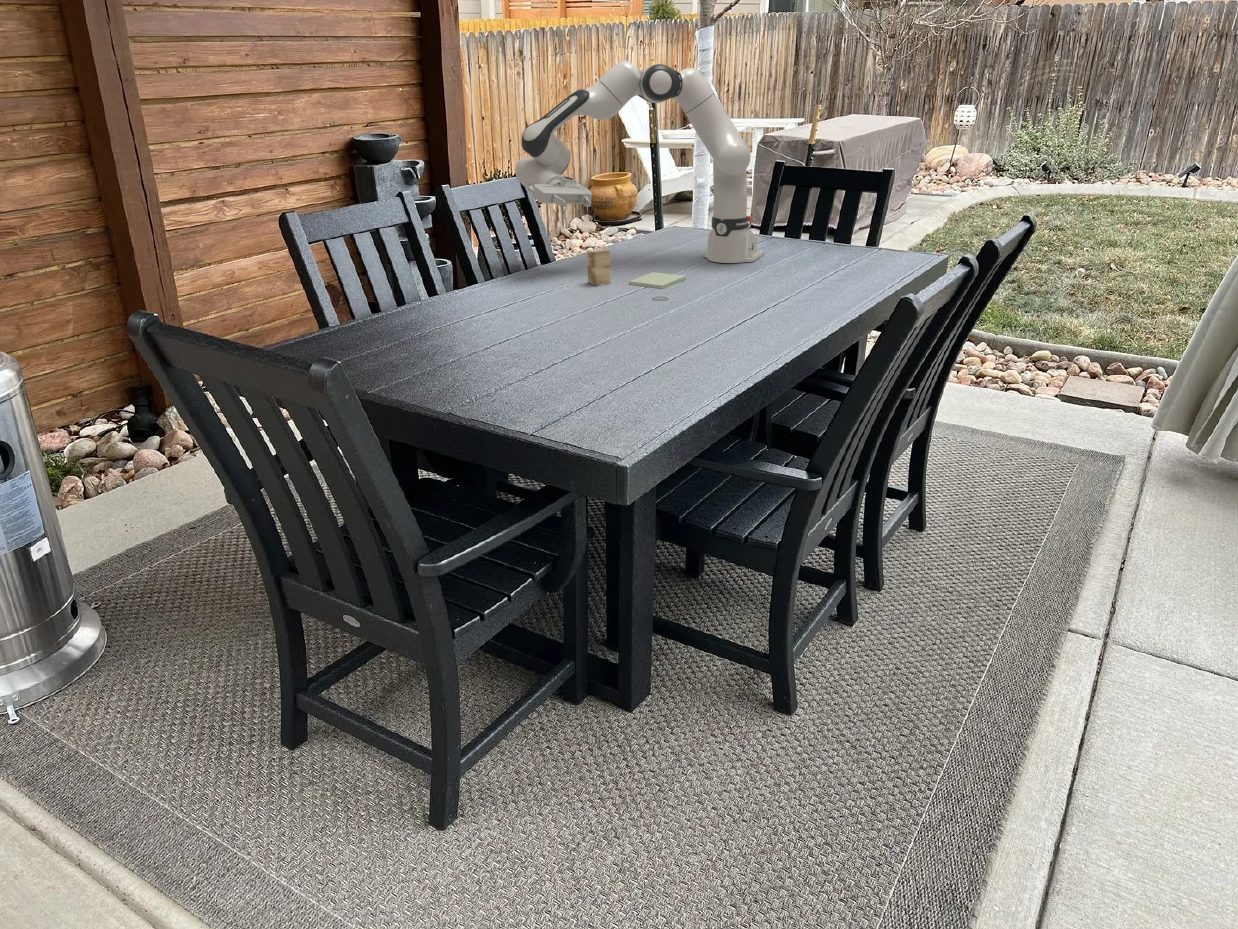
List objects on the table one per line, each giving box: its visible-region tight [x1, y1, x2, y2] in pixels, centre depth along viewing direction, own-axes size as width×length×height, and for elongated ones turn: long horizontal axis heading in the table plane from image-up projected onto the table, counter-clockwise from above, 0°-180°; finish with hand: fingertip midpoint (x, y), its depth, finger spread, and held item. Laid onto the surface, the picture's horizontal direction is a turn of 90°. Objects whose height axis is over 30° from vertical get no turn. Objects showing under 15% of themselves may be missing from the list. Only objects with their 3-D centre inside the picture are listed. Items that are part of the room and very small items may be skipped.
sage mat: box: [628, 271, 687, 290], centre depth 284 cm, size 14×12×1 cm
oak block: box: [586, 248, 611, 286], centre depth 282 cm, size 5×5×10 cm
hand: (577, 204), depth 282 cm, fingers open, 8 cm apart
